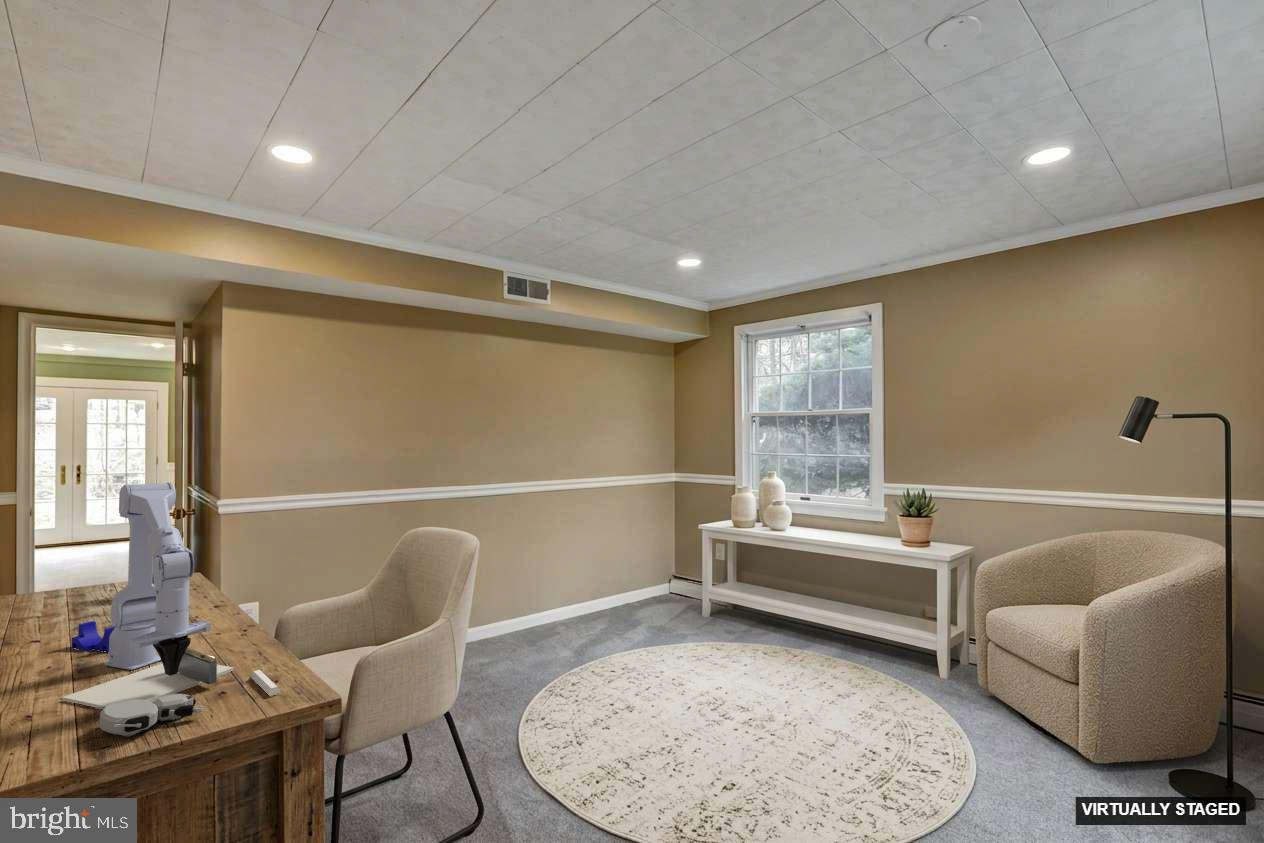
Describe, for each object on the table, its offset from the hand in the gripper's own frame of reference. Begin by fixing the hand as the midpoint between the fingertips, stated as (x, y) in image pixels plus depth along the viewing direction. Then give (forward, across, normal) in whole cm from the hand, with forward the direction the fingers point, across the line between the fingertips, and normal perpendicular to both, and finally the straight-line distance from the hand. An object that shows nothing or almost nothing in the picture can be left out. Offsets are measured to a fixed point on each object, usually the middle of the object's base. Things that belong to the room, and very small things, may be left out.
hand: (171, 673), depth 134 cm
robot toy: (+5, -9, -12) cm, 15 cm away
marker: (+5, +13, -12) cm, 18 cm away
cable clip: (+5, +5, +48) cm, 48 cm away
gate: (+3, +6, +2) cm, 7 cm away
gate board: (+4, +1, +9) cm, 10 cm away
